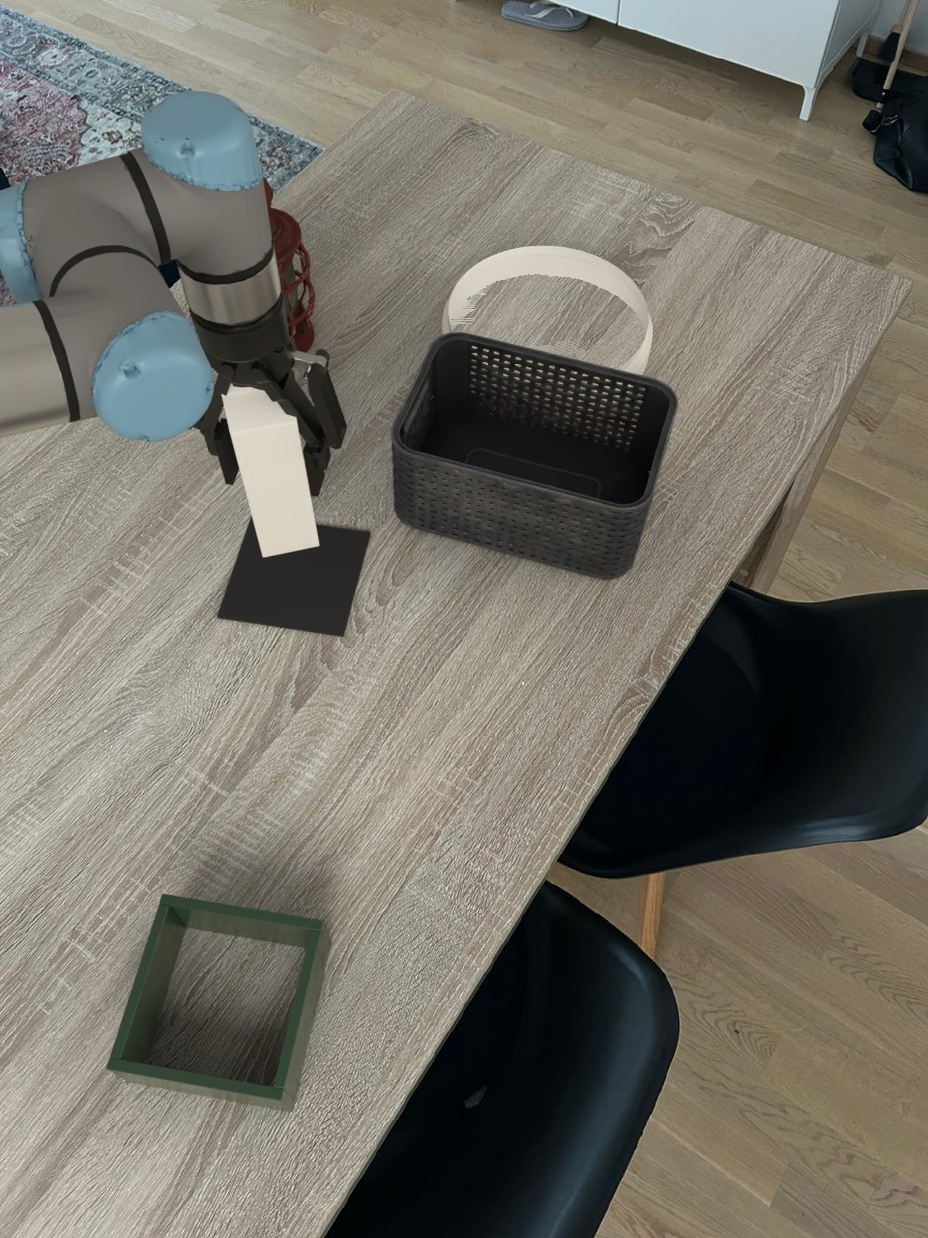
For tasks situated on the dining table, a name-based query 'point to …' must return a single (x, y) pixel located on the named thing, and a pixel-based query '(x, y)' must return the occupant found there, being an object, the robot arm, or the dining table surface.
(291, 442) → the milk
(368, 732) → the dining table surface
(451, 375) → the storage bin
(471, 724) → the dining table surface
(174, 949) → the holder
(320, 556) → the mat
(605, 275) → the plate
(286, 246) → the lantern
